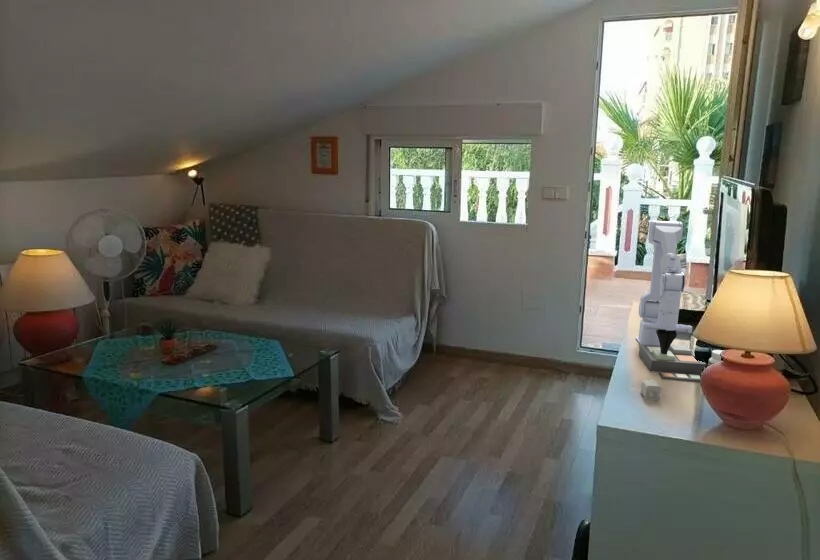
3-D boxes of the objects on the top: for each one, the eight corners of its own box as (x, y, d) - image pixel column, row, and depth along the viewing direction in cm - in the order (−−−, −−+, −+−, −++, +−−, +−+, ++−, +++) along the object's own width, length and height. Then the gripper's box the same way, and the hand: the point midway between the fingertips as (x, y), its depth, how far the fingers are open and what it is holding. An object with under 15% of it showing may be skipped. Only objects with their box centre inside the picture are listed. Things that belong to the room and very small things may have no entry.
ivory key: (645, 355, 203) (646, 346, 202) (662, 356, 202) (663, 347, 202) (649, 360, 198) (650, 351, 197) (667, 361, 197) (668, 352, 196)
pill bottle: (722, 381, 183) (727, 349, 181) (730, 388, 178) (735, 356, 176) (702, 380, 184) (707, 348, 182) (709, 387, 178) (714, 354, 176)
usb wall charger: (654, 393, 172) (656, 380, 172) (662, 403, 166) (664, 389, 165) (640, 393, 173) (641, 379, 172) (647, 403, 166) (649, 389, 165)
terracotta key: (673, 363, 195) (674, 354, 195) (691, 365, 195) (692, 356, 194) (678, 369, 190) (680, 360, 189) (697, 371, 189) (698, 361, 189)
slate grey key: (668, 353, 202) (669, 344, 201) (685, 354, 201) (686, 345, 201) (672, 358, 197) (673, 349, 196) (690, 359, 196) (691, 350, 195)
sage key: (651, 358, 196) (652, 349, 195) (669, 359, 195) (670, 350, 195) (655, 364, 191) (656, 355, 190) (673, 365, 190) (675, 356, 189)
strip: (662, 379, 183) (662, 376, 183) (658, 374, 187) (659, 371, 187) (704, 382, 182) (705, 379, 182) (700, 377, 186) (700, 374, 186)
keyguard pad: (638, 354, 205) (639, 344, 204) (688, 358, 203) (690, 347, 202) (650, 371, 190) (651, 360, 189) (704, 375, 188) (706, 364, 187)
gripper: (647, 313, 186) (642, 355, 189) (697, 316, 185) (691, 358, 187) (642, 307, 193) (637, 348, 196) (690, 310, 191) (684, 351, 194)
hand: (663, 353), depth 192 cm, fingers closed
